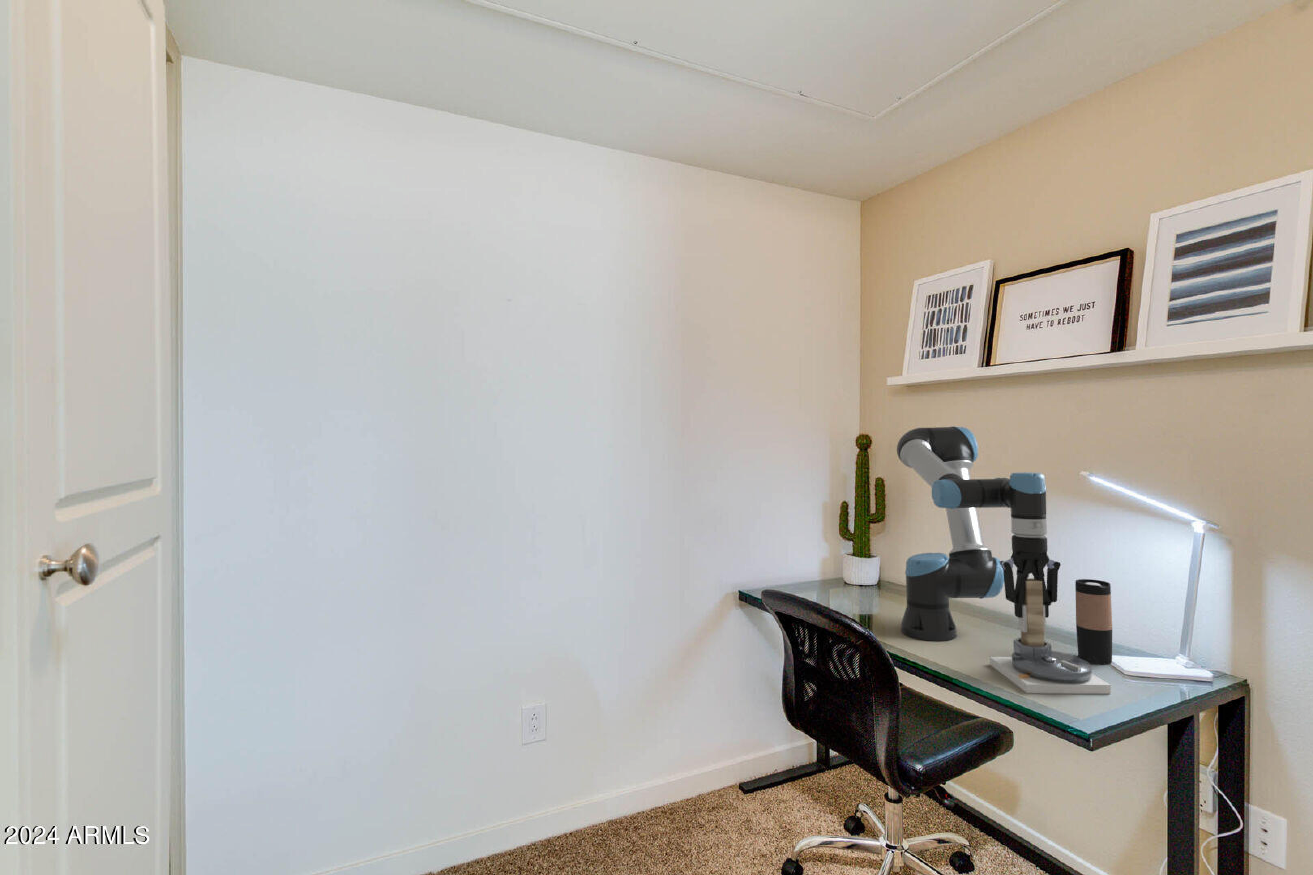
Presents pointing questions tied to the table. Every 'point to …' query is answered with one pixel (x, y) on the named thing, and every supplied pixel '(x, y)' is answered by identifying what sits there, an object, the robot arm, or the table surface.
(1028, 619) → the stick
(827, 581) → the table surface
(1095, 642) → the travel mug
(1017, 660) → the dial
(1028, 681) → the plate
